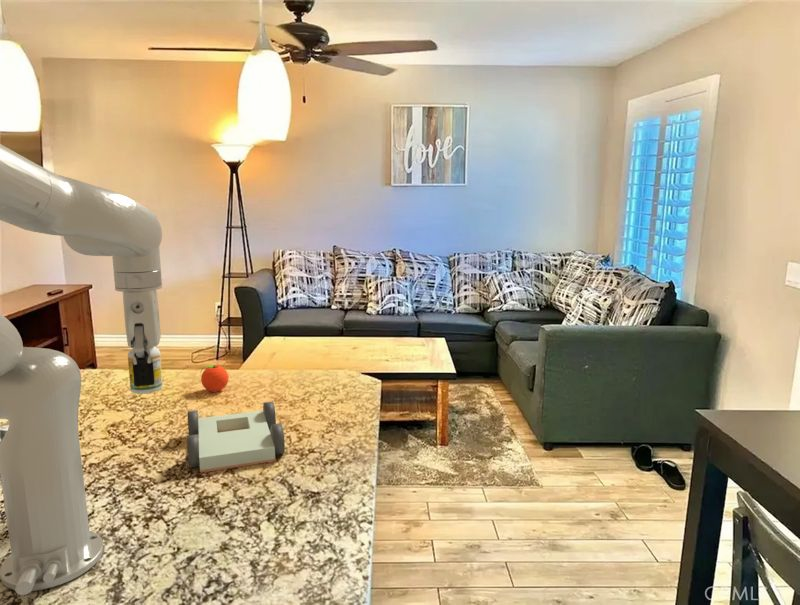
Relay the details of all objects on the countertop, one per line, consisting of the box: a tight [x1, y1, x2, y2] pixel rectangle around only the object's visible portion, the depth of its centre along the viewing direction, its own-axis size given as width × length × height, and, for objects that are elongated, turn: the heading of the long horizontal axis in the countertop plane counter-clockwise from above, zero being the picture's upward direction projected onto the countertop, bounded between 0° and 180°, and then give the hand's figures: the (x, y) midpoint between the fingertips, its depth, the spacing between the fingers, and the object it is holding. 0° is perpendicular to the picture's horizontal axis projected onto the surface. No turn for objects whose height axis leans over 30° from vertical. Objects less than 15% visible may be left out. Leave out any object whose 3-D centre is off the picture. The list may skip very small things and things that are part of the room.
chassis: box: [186, 401, 286, 473], centre depth 118 cm, size 20×18×6 cm
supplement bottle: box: [127, 340, 163, 395], centre depth 102 cm, size 5×5×10 cm
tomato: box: [199, 365, 230, 393], centre depth 150 cm, size 8×7×7 cm
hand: (145, 378), depth 103 cm, fingers closed on supplement bottle, 5 cm apart
